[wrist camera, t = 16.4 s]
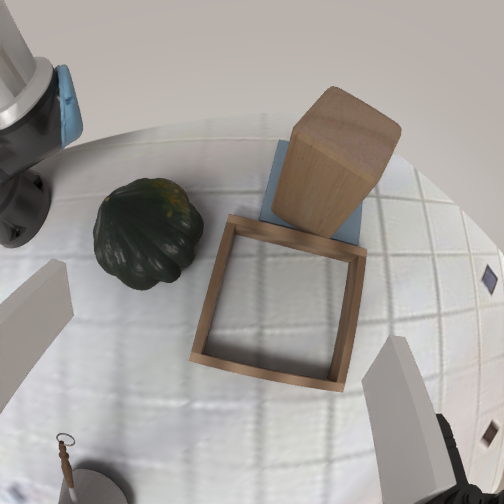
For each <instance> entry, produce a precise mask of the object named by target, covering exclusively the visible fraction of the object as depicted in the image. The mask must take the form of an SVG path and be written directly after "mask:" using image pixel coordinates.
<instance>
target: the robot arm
mask: <svg viewBox="0 0 504 504" xmlns="http://www.w3.org/2000/svg"><path fill="white" fill-rule="evenodd" d="M82 131H83V123H82V118H81V114H80V109H79V105H78V101H77V98H76V93H75V89H74V85H73V82H72V78H71V74H70V72H69V69H68V67H67V65H61V66H59V65H58V66H57V67H56V68H55V69H54V68H53V66H52V64H51V62H50V61H49V60H48V59H46V58H44V57H33V55H32V53H31V52H30V50H29V48H28V47H27V44H26V43H25V41H24V39H23V37H22V35H21V34H20V31H19V30H18V28H17V26H16V24H15V22H14V20H13V18H12V16H11V14H10V12H9V10H8V8H7V6H6V4H5V1H4V0H0V244H1V245H3V246H4V247H7V248H17V247H20V246H22V245H24V244H25V243H27V242H28V241H29V240H30V239H31V238H32V237H33V236H34V235H35V234H36V233H37V232H38V230H39V229H40V227H41V226H42V224H43V222H44V220H45V218H46V215H47V213H48V209H49V205H50V189H49V186H48V184H47V182H46V181H45V180H44V179H43V177H42V176H41V175H40V174H39V173H37V172H35V171H33V170H30V169H29V168H30V167H32V166H34V165H35V164H37V163H39V162H40V161H42V160H44V159H45V158H47V157H49V156H51V155H52V154H54V153H56V152H58V151H60V150H63V149H64V147H65V146H67V145H69V144H70V143H72V142H73V141H75V140H77V139H78V138H79V137H80V136H81V134H82ZM73 316H74V313H73V308H72V302H71V296H70V290H69V283H68V276H67V268H66V263H64V262H61V261H58V260H55V259H52V260H50V261H49V262H48V263H47V264H45V265H44V266H43V267H42V268H41V269H39V270H38V271H37V272H36V273H35V274H34V275H32V276H31V277H30V278H29V279H28V280H27V281H26V282H24V283H23V284H22V285H21V286H20V287H19V288H18V289H17V290H15V291H14V292H13V293H12V294H11V295H10V296H9V297H8V298H7V299H6V300H5V301H3V302H2V303H1V304H0V414H1V412H2V411H3V409H4V408H5V406H6V405H7V403H8V402H9V400H10V399H11V397H12V396H13V395H14V393H15V392H16V390H17V389H18V387H19V386H20V385H21V383H22V382H23V380H24V379H25V378H26V376H27V375H28V373H29V372H30V371H31V369H32V368H33V367H34V365H35V364H36V363H37V361H38V360H39V359H40V357H41V356H42V355H43V353H44V352H45V351H46V350H47V348H48V347H49V346H50V344H51V343H52V342H53V341H54V339H55V338H56V337H57V336H58V334H59V333H60V332H61V331H62V329H63V328H64V327H65V326H66V324H67V323H68V322H69V321H70V320H71V318H72V317H73ZM362 385H363V389H364V394H365V399H366V404H367V409H368V414H369V419H370V424H371V429H372V435H373V440H374V446H375V452H376V458H377V464H378V471H379V477H380V484H381V492H382V499H383V504H504V490H502V491H501V492H499V493H498V494H488V493H482V491H481V490H480V489H479V488H478V487H477V486H476V485H473V484H469V483H468V481H467V478H466V475H465V471H464V468H463V464H462V461H461V458H460V455H459V451H458V448H456V442H455V439H454V438H453V433H452V430H451V427H450V425H449V423H448V422H447V420H446V419H445V418H444V416H443V415H442V414H435V411H434V409H433V406H432V403H431V400H430V398H429V395H428V392H427V390H426V387H425V384H424V382H423V379H422V377H421V374H420V372H419V369H418V367H417V364H416V362H415V359H414V357H413V355H412V352H411V350H410V348H409V345H408V343H407V341H406V338H405V337H400V336H393V335H389V337H388V338H387V340H386V342H385V344H384V345H383V347H382V349H381V350H380V352H379V354H378V355H377V357H376V359H375V360H374V362H373V364H372V365H371V367H370V368H369V370H368V372H367V373H366V375H365V376H364V378H363V379H362Z"/></svg>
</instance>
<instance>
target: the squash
mask: <svg viewBox="0 0 504 504" xmlns="http://www.w3.org/2000/svg"><path fill="white" fill-rule="evenodd" d="M203 227H204V223H203V219H202V217H201V215H200V214H199V213H198V211H197V210H196V209H195V208H194V206H193V205H192V204H191V203H190V202H189V200H188V197H187V195H186V193H185V192H184V190H183V189H182V188H181V187H180V186H179V185H177V184H176V183H174V182H172V181H170V180H167V179H164V178H155V179H148V178H143V179H138V180H135V181H133V182H132V183H130V184H128V185H126V186H122V187H120V188H118V189H116V190H115V191H113V192H112V193H111V194H110V195H109V196H107V197H106V198H105V199H104V201H103V202H102V204H101V206H100V207H99V211H98V216H97V219H96V223H95V226H94V230H93V236H94V252H95V255H96V259H97V261H98V263H99V264H100V266H101V267H102V268H103V269H104V270H105V271H106V272H107V273H109V274H111V275H114V276H116V277H117V278H118V279H120V280H121V281H122V282H123V283H124V284H125V285H127V286H128V287H130V288H133V289H136V290H148V289H150V288H152V287H153V286H155V285H156V284H157V283H158V282H159V281H163V282H166V283H172V282H174V281H176V280H177V279H178V278H179V277H180V275H181V269H180V268H181V267H185V266H188V265H190V264H191V263H192V262H193V260H194V257H195V255H194V245H195V244H196V243H197V242H198V241H199V240H200V238H201V236H202V234H203Z"/></svg>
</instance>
